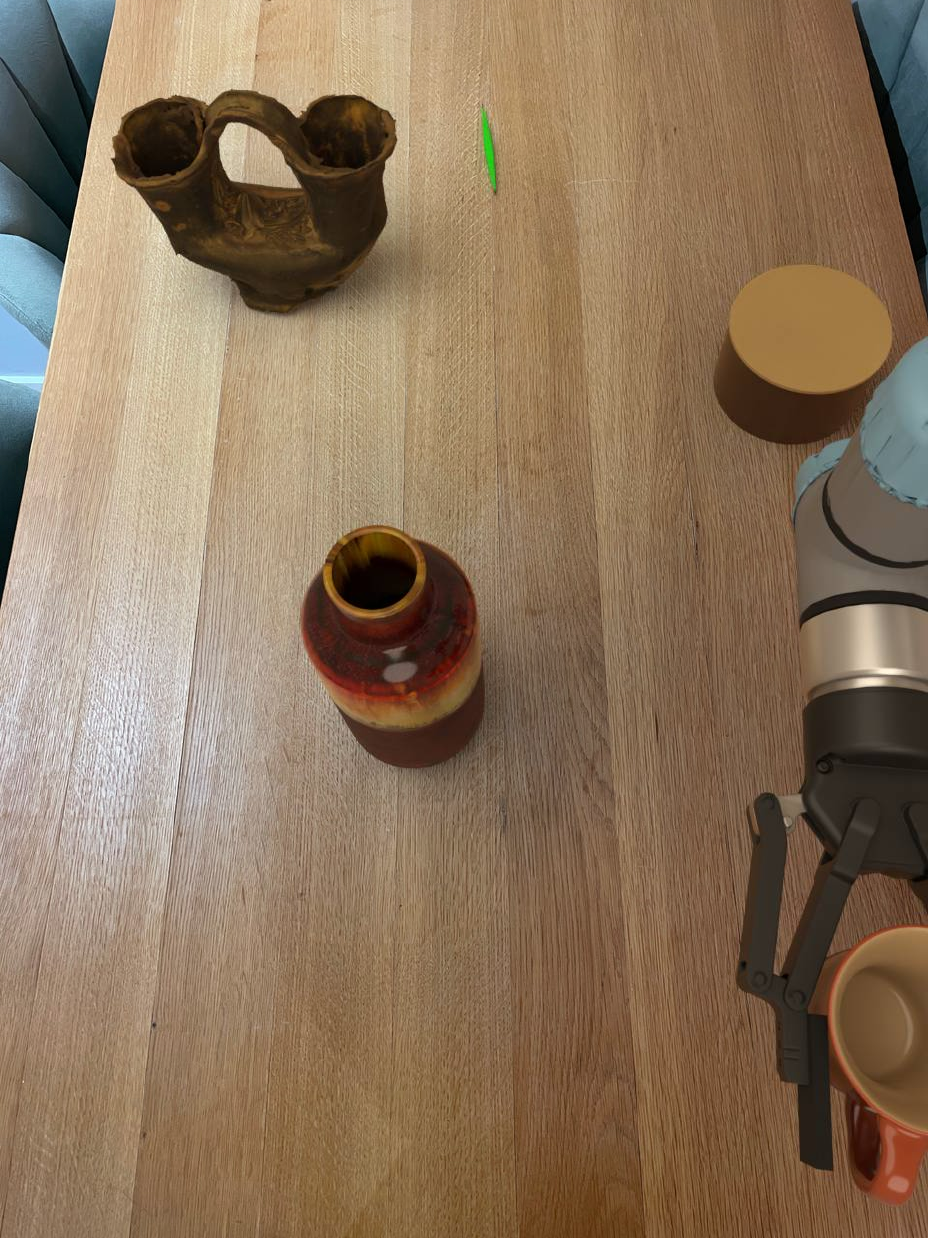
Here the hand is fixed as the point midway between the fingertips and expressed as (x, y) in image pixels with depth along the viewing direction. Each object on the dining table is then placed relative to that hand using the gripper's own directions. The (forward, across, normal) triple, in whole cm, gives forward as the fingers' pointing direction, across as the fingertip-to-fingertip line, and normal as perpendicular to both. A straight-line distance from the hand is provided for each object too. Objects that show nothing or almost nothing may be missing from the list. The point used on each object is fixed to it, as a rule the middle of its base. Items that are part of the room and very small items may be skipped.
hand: (906, 1176), depth 43 cm
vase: (-27, +28, -22) cm, 45 cm away
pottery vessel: (-71, +46, -22) cm, 87 cm away
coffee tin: (-61, -2, -22) cm, 65 cm away
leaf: (-89, +28, -22) cm, 96 cm away
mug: (-5, 0, -6) cm, 8 cm away
